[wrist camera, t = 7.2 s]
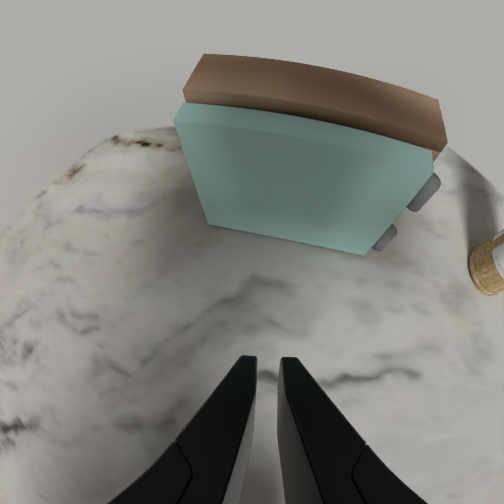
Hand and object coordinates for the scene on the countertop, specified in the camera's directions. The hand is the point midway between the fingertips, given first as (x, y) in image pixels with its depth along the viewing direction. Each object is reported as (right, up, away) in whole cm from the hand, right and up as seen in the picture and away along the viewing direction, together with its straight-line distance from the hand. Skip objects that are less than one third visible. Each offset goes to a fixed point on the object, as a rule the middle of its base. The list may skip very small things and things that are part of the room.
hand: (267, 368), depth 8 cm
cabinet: (+3, +6, +16) cm, 17 cm away
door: (+3, +4, +14) cm, 15 cm away
